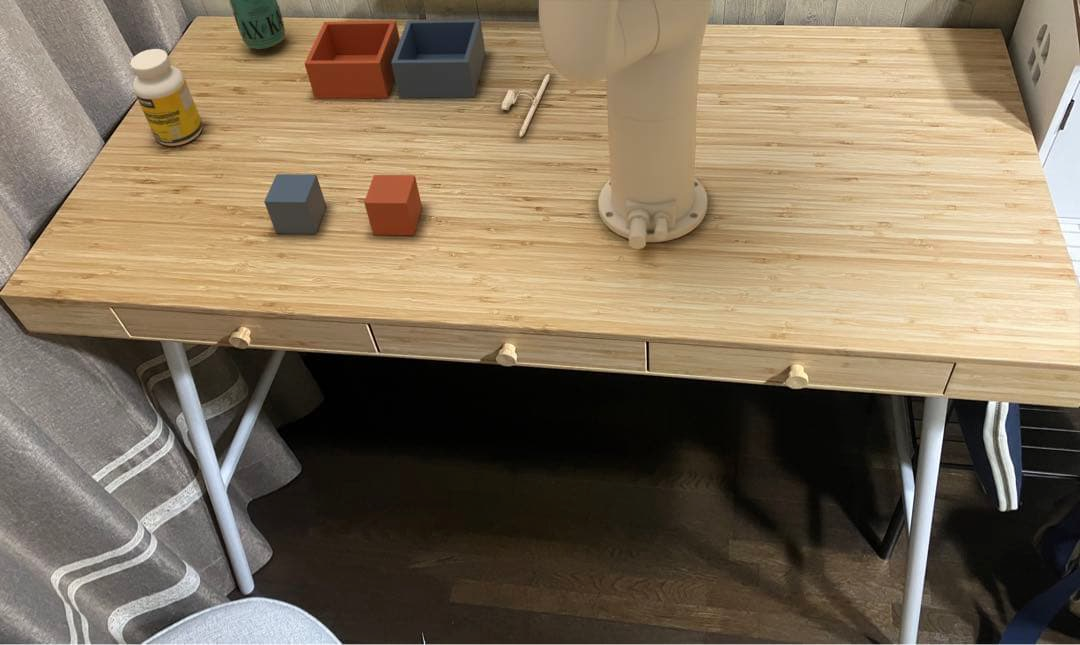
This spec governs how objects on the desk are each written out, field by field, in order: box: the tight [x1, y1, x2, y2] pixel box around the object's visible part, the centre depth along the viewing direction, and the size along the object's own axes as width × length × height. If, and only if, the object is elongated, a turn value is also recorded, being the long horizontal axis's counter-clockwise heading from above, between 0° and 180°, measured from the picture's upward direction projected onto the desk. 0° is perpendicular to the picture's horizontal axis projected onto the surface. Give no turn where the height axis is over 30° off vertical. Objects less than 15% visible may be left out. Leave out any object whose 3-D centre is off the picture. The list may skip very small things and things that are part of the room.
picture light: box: [501, 73, 551, 138], centre depth 133 cm, size 14×4×2 cm, turn 165°
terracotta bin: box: [304, 20, 401, 99], centre depth 140 cm, size 10×10×6 cm
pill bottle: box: [130, 48, 203, 147], centre depth 132 cm, size 6×6×12 cm
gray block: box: [263, 173, 327, 235], centre depth 120 cm, size 5×5×5 cm
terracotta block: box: [364, 174, 423, 236], centre depth 118 cm, size 5×5×5 cm
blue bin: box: [391, 18, 486, 99], centre depth 138 cm, size 10×10×6 cm
